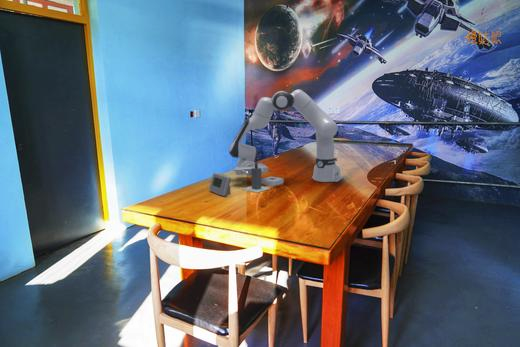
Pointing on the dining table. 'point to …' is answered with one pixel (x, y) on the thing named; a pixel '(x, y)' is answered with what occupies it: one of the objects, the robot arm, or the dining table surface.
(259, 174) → the plug
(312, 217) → the dining table surface
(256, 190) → the mat
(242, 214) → the dining table surface
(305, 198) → the dining table surface
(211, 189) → the digital clock
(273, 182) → the socket block
